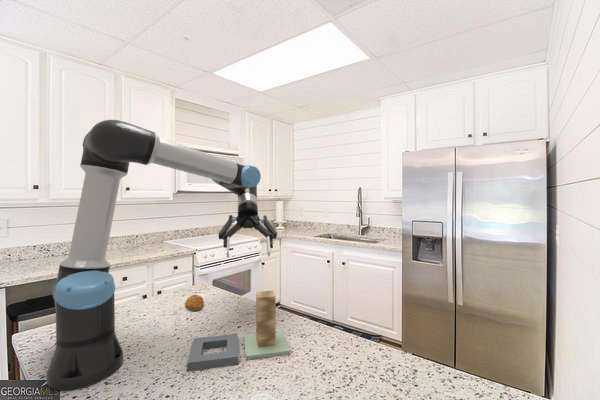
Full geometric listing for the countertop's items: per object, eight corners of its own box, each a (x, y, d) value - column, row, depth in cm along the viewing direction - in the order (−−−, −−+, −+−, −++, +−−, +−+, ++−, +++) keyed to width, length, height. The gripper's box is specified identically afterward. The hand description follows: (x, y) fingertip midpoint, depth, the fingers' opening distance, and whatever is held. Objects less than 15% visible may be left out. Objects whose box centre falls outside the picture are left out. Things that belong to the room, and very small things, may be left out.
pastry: (206, 310, 108) (206, 300, 108) (187, 314, 105) (186, 303, 105) (202, 302, 117) (201, 292, 116) (184, 305, 113) (184, 295, 113)
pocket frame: (186, 371, 71) (186, 363, 71) (193, 345, 83) (193, 338, 83) (238, 364, 74) (238, 356, 74) (237, 340, 86) (237, 333, 86)
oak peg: (257, 347, 80) (257, 297, 79) (256, 338, 85) (256, 291, 84) (275, 345, 81) (275, 296, 81) (273, 336, 86) (273, 290, 85)
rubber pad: (245, 360, 76) (245, 356, 75) (243, 337, 87) (243, 334, 87) (290, 354, 78) (290, 350, 78) (282, 333, 90) (282, 330, 90)
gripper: (278, 214, 115) (284, 259, 101) (214, 214, 110) (210, 261, 95) (281, 201, 110) (287, 247, 96) (213, 200, 105) (209, 248, 90)
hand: (248, 254), depth 95 cm, fingers open, 13 cm apart
